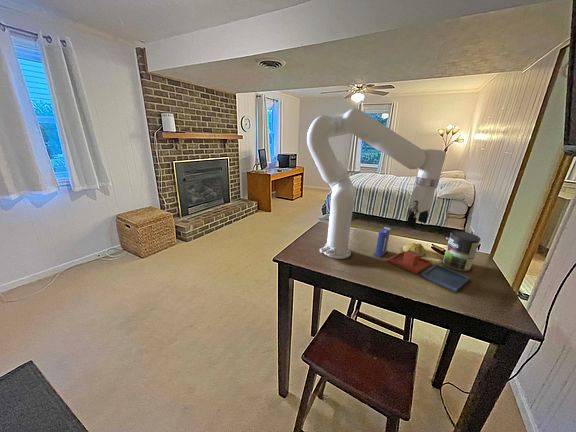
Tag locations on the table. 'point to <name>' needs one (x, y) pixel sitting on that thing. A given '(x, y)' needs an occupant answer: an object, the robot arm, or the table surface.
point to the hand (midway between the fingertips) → (416, 224)
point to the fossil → (415, 248)
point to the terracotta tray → (416, 268)
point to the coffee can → (461, 250)
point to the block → (411, 257)
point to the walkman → (382, 241)
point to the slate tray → (446, 277)
